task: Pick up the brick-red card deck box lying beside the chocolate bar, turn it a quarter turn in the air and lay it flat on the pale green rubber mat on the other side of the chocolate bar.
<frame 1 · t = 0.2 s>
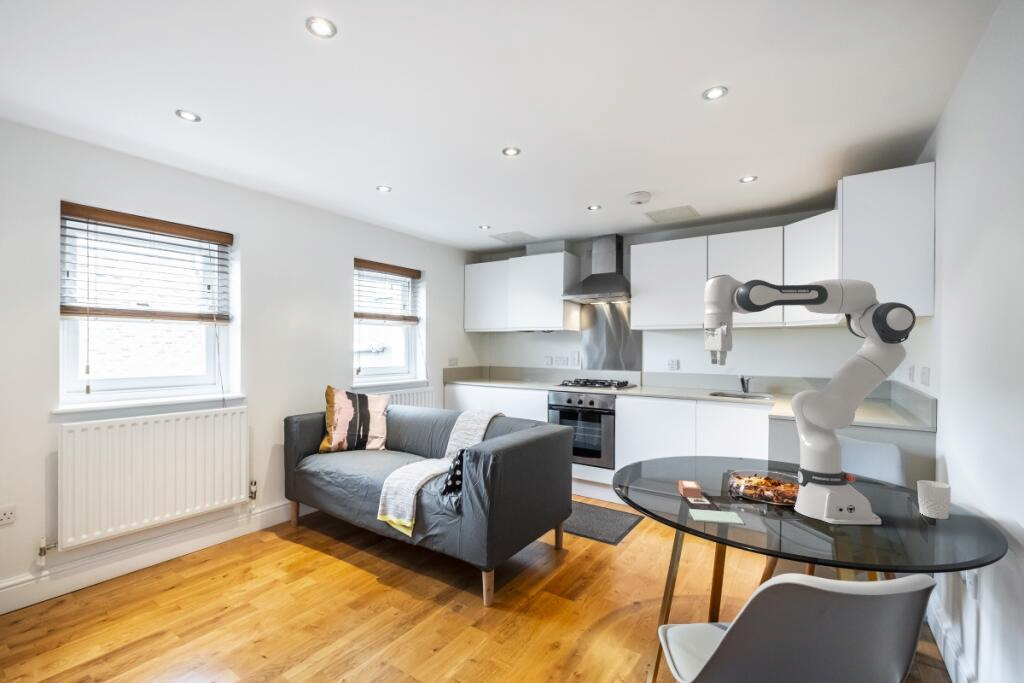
hand: (717, 364, 152), 47 cm above the table, tool pointing down, fingers open, 8 cm apart
chocolate bar: (701, 506, 153), on the table
mat: (715, 517, 142), on the table
white cup: (933, 516, 145), on the table
deck: (689, 495, 163), on the table
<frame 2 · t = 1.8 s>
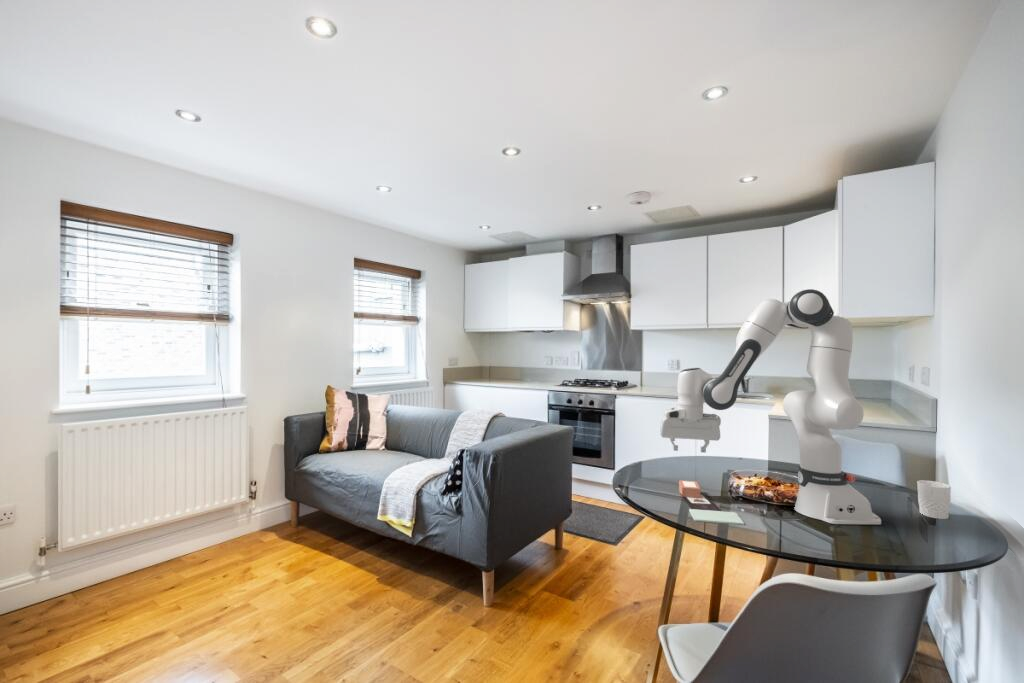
hand: (689, 451, 163), 16 cm above the table, tool pointing down, fingers open, 8 cm apart
nothing on the table moved.
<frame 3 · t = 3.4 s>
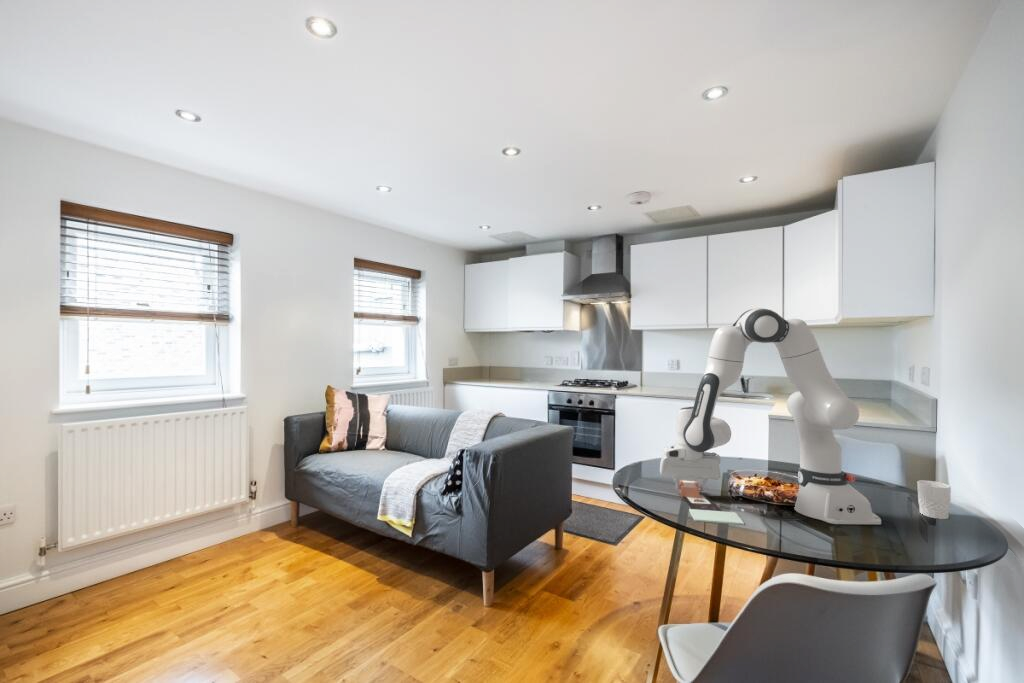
hand: (689, 489, 163), 2 cm above the table, tool pointing down, fingers closed on deck, 6 cm apart
deck: (689, 494, 163), on the table, touching gripper
everything else where it was.
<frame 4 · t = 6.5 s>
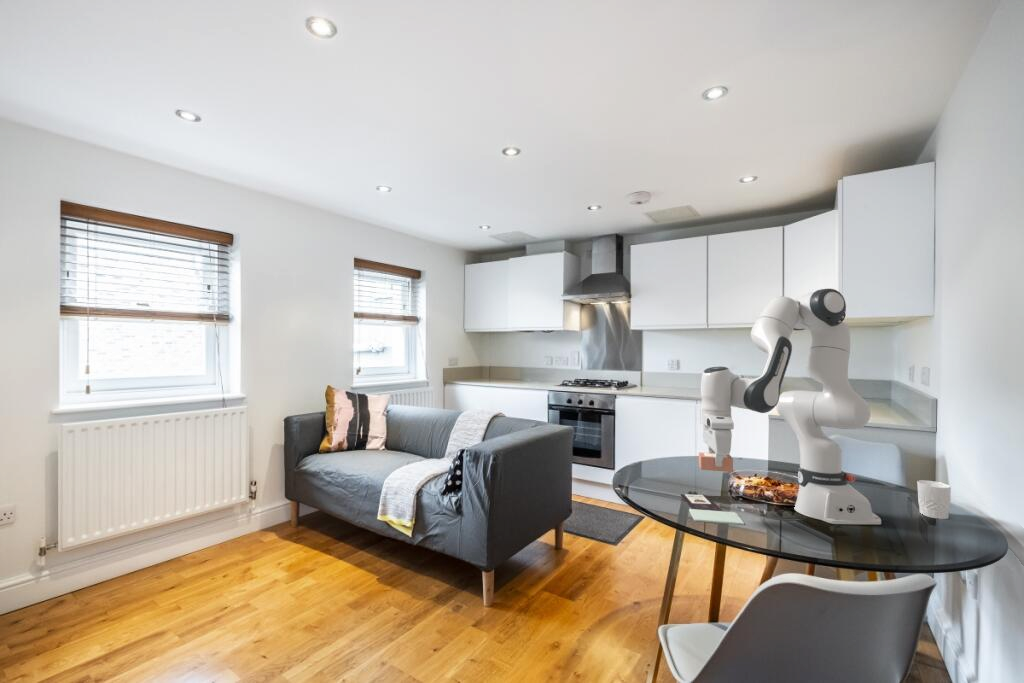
hand: (715, 462, 142), 17 cm above the table, tool pointing down, fingers closed on deck, 6 cm apart
deck: (715, 468, 142), point 15 cm above the table, touching gripper
everything else where it was.
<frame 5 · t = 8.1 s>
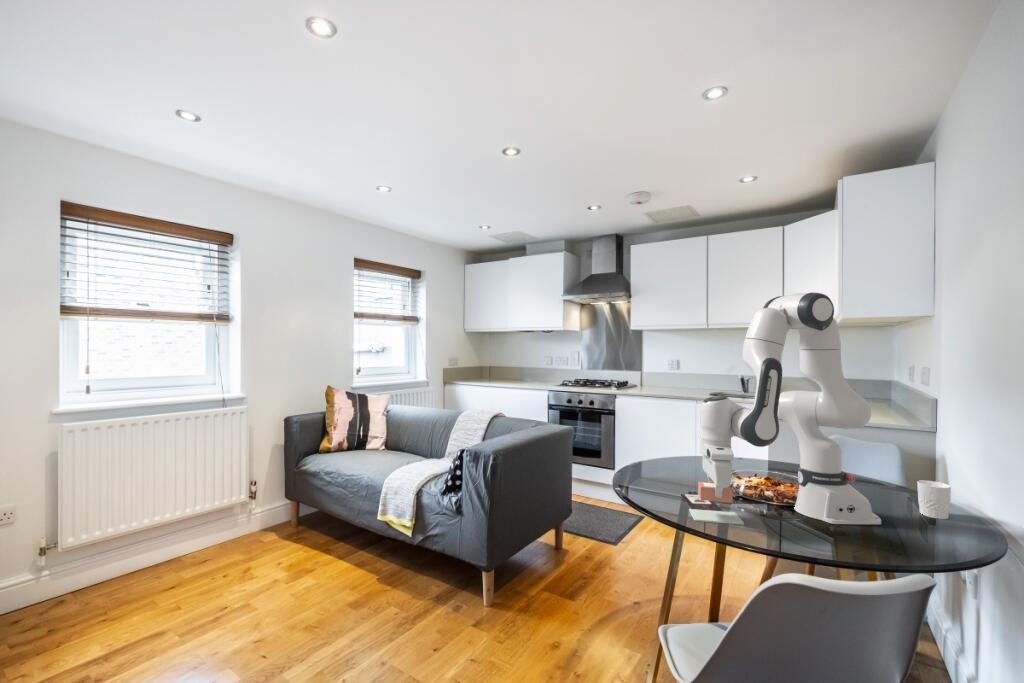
hand: (715, 493, 142), 8 cm above the table, tool pointing down, fingers closed on deck, 6 cm apart
deck: (714, 498, 141), point 6 cm above the table, touching gripper
everything else where it was.
when the fingers open (4 cm above the table, at t = 9.4 s): deck drops 1 cm, resting on mat.
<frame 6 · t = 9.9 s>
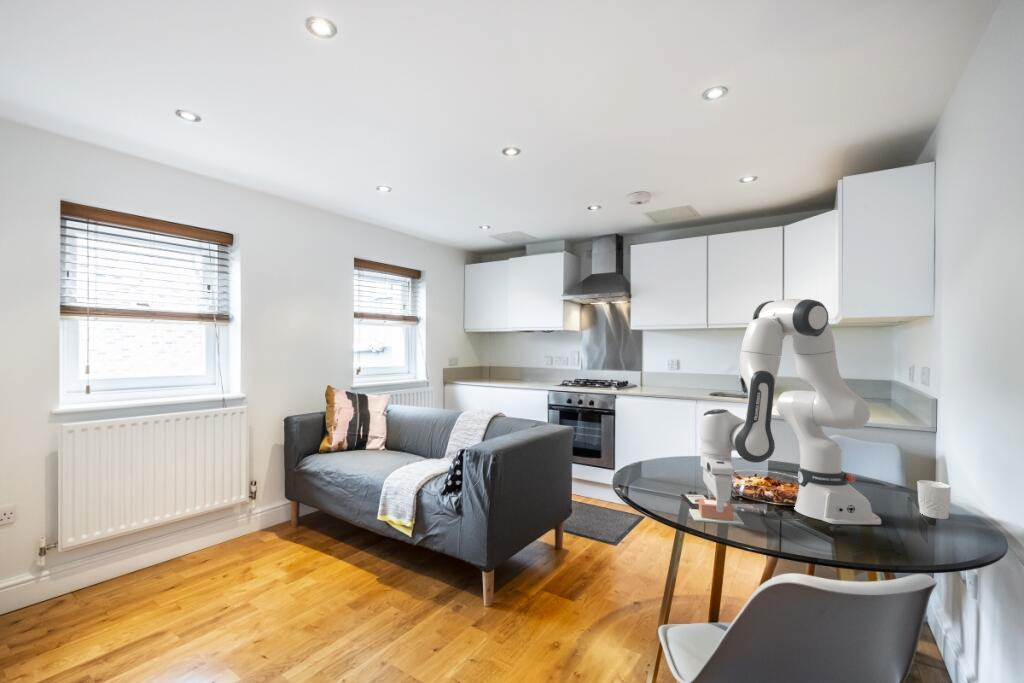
hand: (715, 505, 142), 4 cm above the table, tool pointing down, fingers open, 8 cm apart
deck: (715, 515, 142), resting on mat
everything else where it was.
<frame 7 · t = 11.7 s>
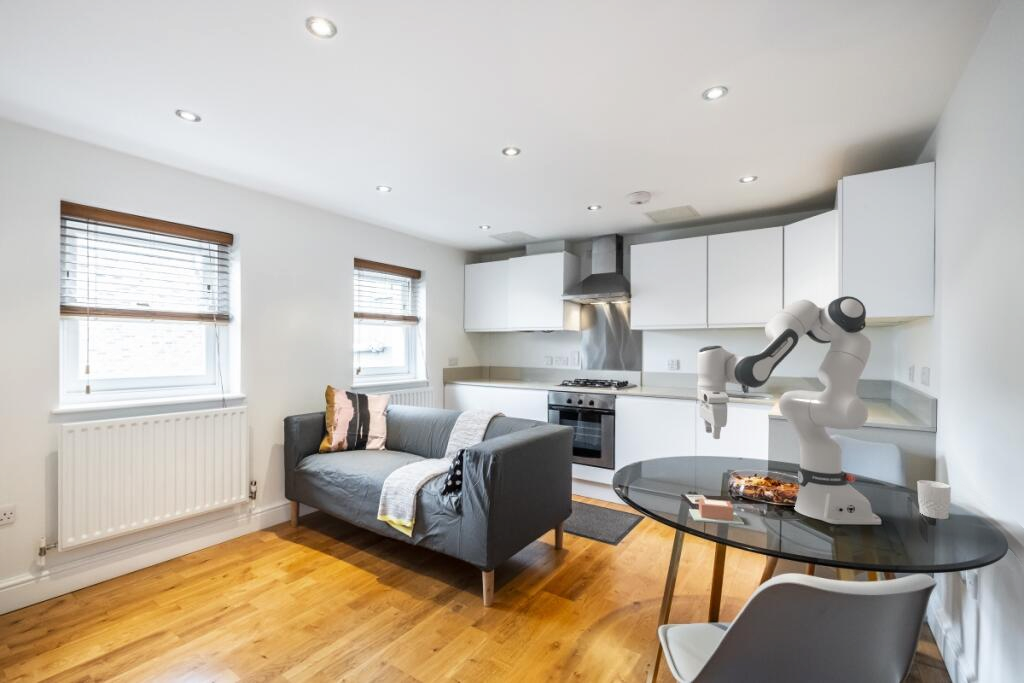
hand: (712, 435, 152), 24 cm above the table, tool pointing down, fingers open, 8 cm apart
nothing on the table moved.
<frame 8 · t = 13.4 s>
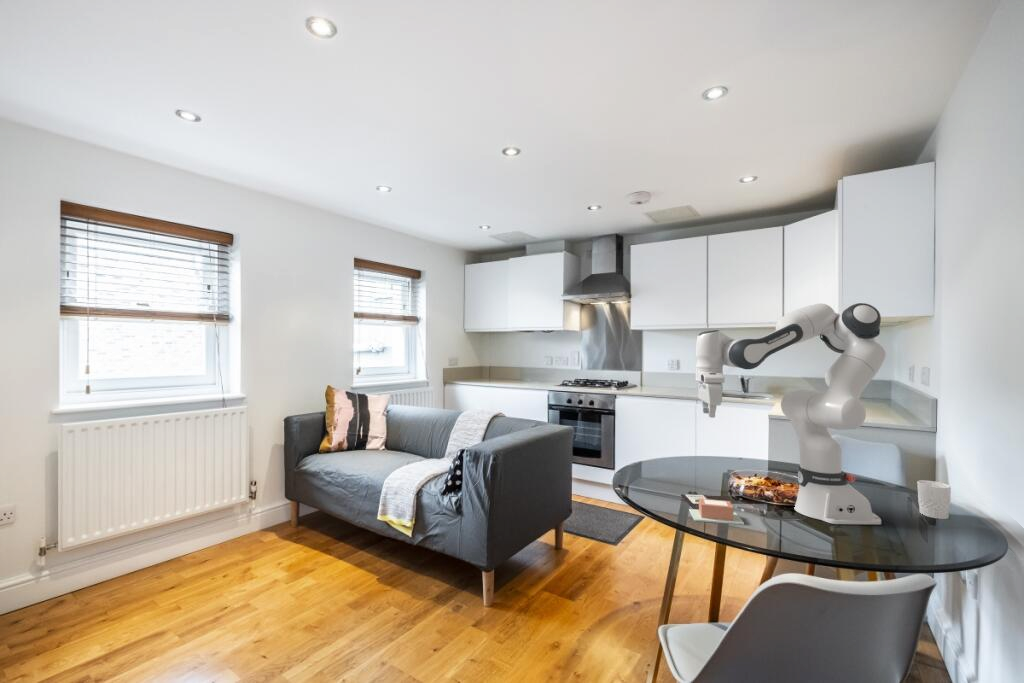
hand: (708, 415, 160), 29 cm above the table, tool pointing down, fingers open, 8 cm apart
nothing on the table moved.
at the end: deck inside the target area on the mat (0.0 cm from its centre), point 0.5 cm above the mat's base; deck tilted 0°; the gripper is holding nothing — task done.
